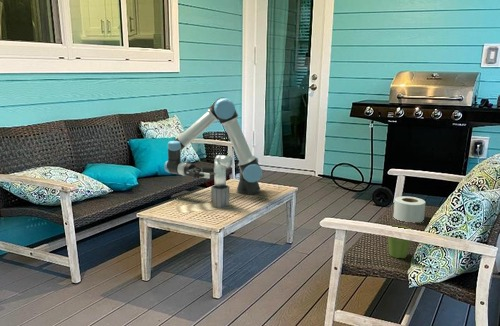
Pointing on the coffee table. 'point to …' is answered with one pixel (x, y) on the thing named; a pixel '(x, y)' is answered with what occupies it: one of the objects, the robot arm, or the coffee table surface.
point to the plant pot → (398, 246)
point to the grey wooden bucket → (220, 197)
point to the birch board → (195, 207)
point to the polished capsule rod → (221, 170)
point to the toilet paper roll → (409, 209)
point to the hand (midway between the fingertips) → (216, 173)
